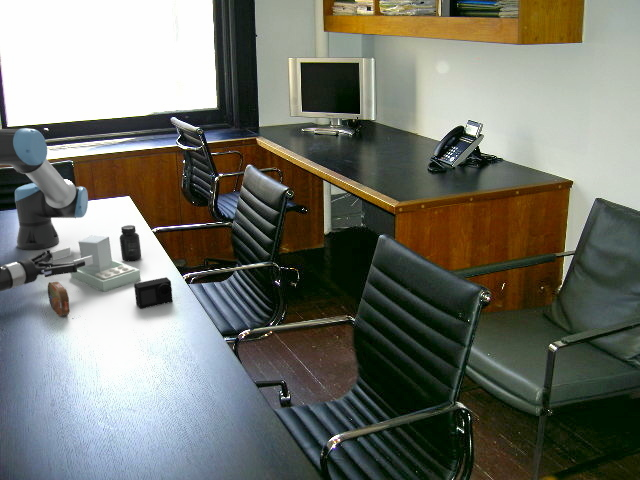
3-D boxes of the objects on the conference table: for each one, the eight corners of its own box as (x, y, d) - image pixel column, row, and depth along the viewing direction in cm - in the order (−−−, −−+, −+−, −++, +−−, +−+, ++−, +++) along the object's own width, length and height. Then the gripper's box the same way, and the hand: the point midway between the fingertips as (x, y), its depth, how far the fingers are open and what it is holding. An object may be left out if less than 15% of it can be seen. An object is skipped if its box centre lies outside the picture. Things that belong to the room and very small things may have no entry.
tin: (48, 304, 244) (44, 279, 241) (58, 302, 246) (55, 276, 243) (62, 320, 232) (58, 294, 229) (72, 318, 234) (69, 291, 231)
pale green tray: (71, 277, 265) (70, 267, 264) (107, 266, 275) (106, 257, 274) (103, 292, 252) (102, 281, 251) (140, 279, 262) (139, 269, 261)
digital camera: (141, 310, 238) (138, 288, 235) (135, 304, 242) (133, 283, 240) (174, 303, 242) (172, 282, 240) (168, 297, 247) (166, 276, 245)
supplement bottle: (144, 255, 285) (140, 224, 281) (138, 262, 278) (134, 230, 275) (125, 255, 286) (122, 224, 282) (119, 262, 279) (115, 229, 275)
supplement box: (114, 271, 268) (110, 236, 264) (101, 279, 262) (96, 243, 258) (95, 269, 271) (91, 234, 267) (82, 276, 264) (77, 241, 260)
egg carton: (96, 283, 258) (94, 271, 256) (124, 274, 265) (123, 262, 264) (106, 288, 254) (104, 275, 253) (134, 278, 261) (133, 266, 260)
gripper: (2, 275, 254) (62, 258, 269) (42, 293, 238) (103, 274, 253) (-1, 253, 252) (59, 237, 267) (38, 270, 236) (100, 252, 250)
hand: (80, 255), depth 260 cm, fingers open, 13 cm apart
